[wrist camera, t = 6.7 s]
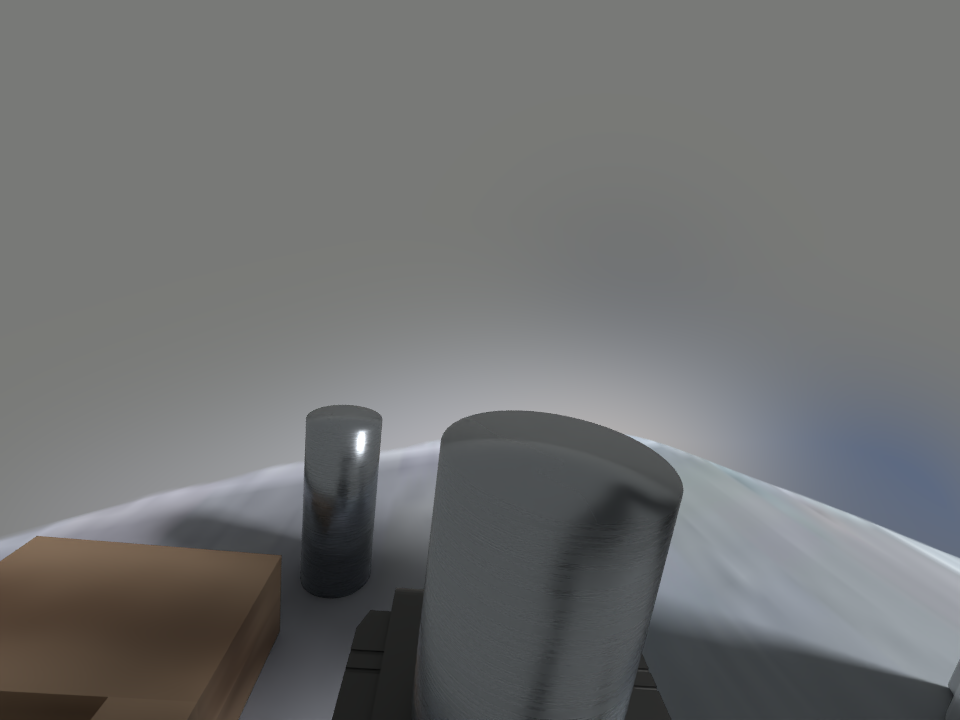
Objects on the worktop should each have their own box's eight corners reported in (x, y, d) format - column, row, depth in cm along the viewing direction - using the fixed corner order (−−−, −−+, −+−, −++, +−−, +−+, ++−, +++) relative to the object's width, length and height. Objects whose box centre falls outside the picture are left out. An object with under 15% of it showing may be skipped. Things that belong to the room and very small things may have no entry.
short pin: (333, 543, 27) (341, 400, 25) (383, 566, 26) (396, 417, 23) (284, 579, 24) (289, 418, 21) (339, 608, 22) (349, 439, 20)
